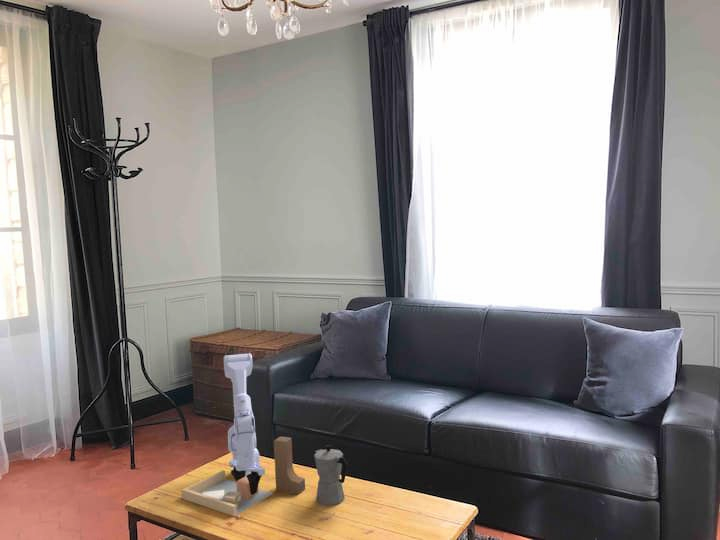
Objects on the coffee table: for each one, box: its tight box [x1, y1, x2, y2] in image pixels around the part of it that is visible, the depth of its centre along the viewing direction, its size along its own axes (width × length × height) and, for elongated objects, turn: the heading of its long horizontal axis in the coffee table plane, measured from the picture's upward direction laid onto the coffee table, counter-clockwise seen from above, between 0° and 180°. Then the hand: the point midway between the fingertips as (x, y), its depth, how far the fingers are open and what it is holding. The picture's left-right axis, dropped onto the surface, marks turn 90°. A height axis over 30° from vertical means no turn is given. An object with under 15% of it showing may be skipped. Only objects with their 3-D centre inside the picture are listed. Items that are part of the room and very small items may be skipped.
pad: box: [203, 490, 224, 500], centre depth 196 cm, size 7×7×1 cm
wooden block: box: [273, 435, 306, 495], centre depth 198 cm, size 9×4×18 cm, turn 66°
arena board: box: [181, 469, 275, 517], centre depth 195 cm, size 18×24×4 cm
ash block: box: [223, 491, 241, 508], centre depth 187 cm, size 4×4×4 cm
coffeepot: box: [313, 444, 349, 507], centre depth 191 cm, size 15×9×18 cm, turn 43°
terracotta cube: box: [235, 476, 260, 499], centre depth 196 cm, size 5×5×5 cm
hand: (247, 491), depth 196 cm, fingers closed on terracotta cube, 5 cm apart
